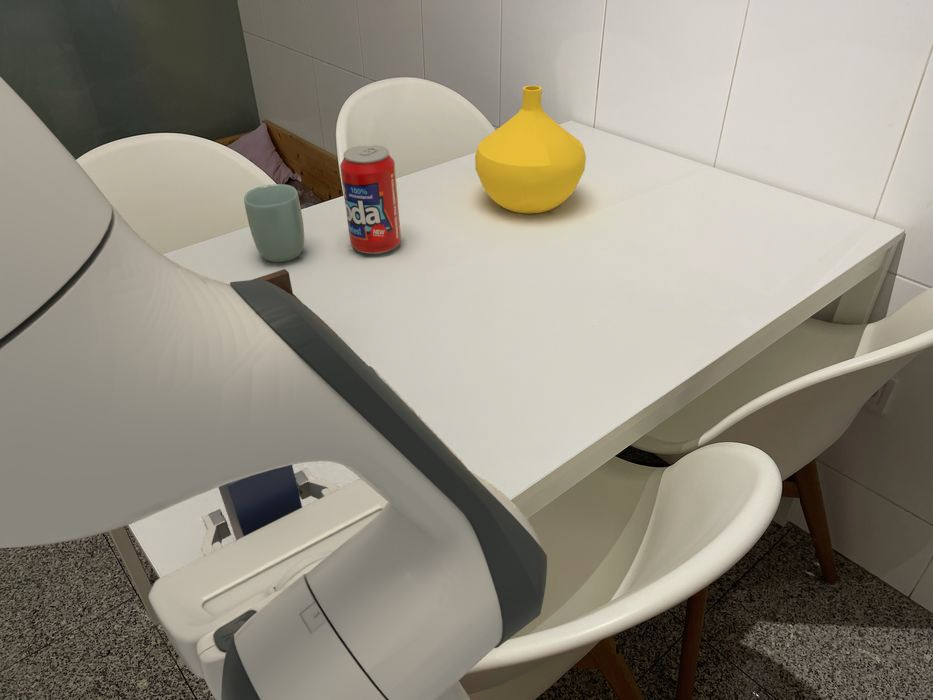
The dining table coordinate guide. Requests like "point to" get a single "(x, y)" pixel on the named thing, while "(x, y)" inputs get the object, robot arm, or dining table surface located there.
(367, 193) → the soda can
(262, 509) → the navy block
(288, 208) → the cup
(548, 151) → the vase
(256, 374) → the robot arm
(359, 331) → the dining table surface
